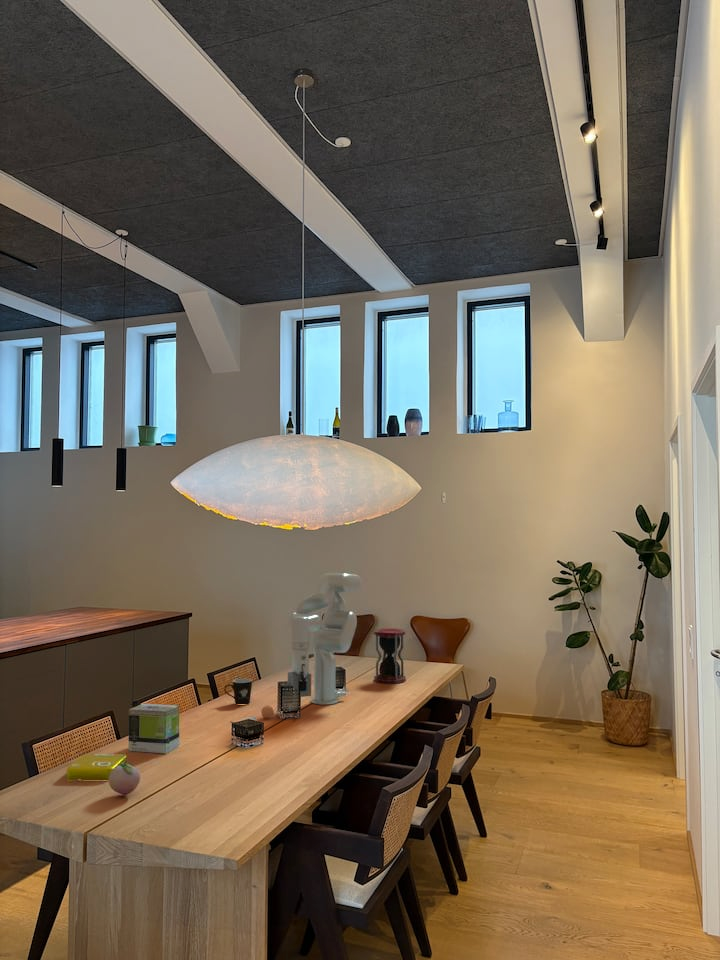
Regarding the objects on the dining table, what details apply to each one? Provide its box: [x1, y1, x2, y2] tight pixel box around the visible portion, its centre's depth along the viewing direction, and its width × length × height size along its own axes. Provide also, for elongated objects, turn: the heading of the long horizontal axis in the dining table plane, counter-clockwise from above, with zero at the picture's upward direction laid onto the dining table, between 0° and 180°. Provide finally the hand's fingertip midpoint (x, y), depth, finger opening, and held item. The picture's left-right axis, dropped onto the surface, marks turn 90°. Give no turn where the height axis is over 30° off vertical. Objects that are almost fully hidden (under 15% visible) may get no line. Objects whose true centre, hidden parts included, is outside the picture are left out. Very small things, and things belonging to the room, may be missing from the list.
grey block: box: [287, 671, 312, 698], centre depth 312 cm, size 8×8×9 cm
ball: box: [260, 705, 274, 719], centre depth 307 cm, size 5×5×5 cm
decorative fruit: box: [108, 760, 141, 796], centre depth 221 cm, size 9×8×10 cm
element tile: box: [66, 753, 127, 780], centre depth 241 cm, size 15×15×5 cm
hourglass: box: [373, 628, 407, 685], centre depth 379 cm, size 16×16×25 cm
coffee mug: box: [223, 678, 253, 705], centre depth 332 cm, size 12×9×10 cm
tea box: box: [128, 703, 180, 754], centre depth 267 cm, size 15×10×15 cm
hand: (299, 688), depth 312 cm, fingers closed on grey block, 7 cm apart
